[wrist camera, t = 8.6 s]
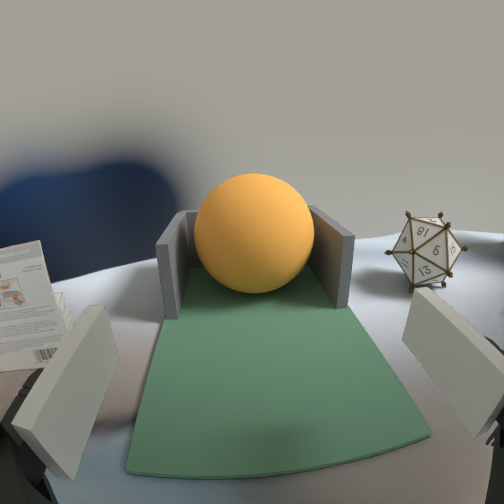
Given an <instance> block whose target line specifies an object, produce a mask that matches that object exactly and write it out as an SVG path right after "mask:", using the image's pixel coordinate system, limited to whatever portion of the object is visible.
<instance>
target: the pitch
mask: <svg viewBox="0 0 504 504" xmlns="http://www.w3.org/2000/svg"><path fill="white" fill-rule="evenodd" d="M308 208H309V211H310V213H311V216H312V220H313V226H314V241H313V247H312V251H311V254H310V256H309V259H308V260H307V262H306V264H305V266H304V267H303V269H302V270H301V271H300V273H299V274H298V275H297V276H296V277H295V278H294V279H292V280H291V281H290V282H289V283H287V284H285V285H284V286H282V287H280V288H278V289H275V290H273V291H269V292H264V293H244V292H239V291H236V290H233V289H230V288H228V287H226V286H224V285H223V284H221V283H219V282H218V281H217V280H216V279H214V278H213V277H212V276H211V275H210V274H209V272H208V271H207V270H206V269H205V267H204V266H203V264H202V262H201V260H200V258H199V256H198V253H197V250H196V246H195V240H194V226H195V220H196V217H197V214H198V211H199V210H188V211H178V212H177V214H176V215H175V217H174V218H173V220H172V221H171V222H170V224H169V225H168V227H167V228H166V230H165V231H164V233H163V234H162V236H161V237H160V239H159V240H158V241H157V243H156V245H155V247H156V254H157V262H158V269H159V276H160V282H161V289H162V295H163V301H164V306H165V312H166V315H165V318H164V321H163V325H162V328H161V331H160V335H159V338H158V341H157V345H156V348H155V352H154V355H153V359H152V362H151V366H150V369H149V373H148V376H147V380H146V384H145V388H144V391H143V395H142V399H141V403H140V407H139V411H138V415H137V419H136V423H135V427H134V431H133V436H132V440H131V444H130V449H129V453H128V458H127V463H126V467H125V471H126V472H127V474H135V475H143V476H153V477H165V478H183V479H233V478H251V477H263V476H273V475H282V474H289V473H296V472H303V471H309V470H315V469H320V468H325V467H330V466H335V465H340V464H344V463H348V462H352V461H356V460H360V459H364V458H368V457H371V456H375V455H378V454H382V453H385V452H388V451H391V450H394V449H397V448H400V447H403V446H406V445H409V444H412V443H415V442H417V441H420V440H423V439H425V438H428V437H430V436H431V434H432V431H431V430H430V428H429V426H428V425H427V423H426V421H425V420H424V418H423V417H422V415H421V413H420V412H419V410H418V409H417V407H416V406H415V404H414V402H413V401H412V399H411V398H410V396H409V395H408V393H407V391H406V390H405V388H404V387H403V385H402V384H401V382H400V381H399V379H398V378H397V376H396V375H395V373H394V372H393V370H392V369H391V367H390V366H389V364H388V363H387V361H386V360H385V358H384V357H383V355H382V354H381V352H380V351H379V349H378V348H377V346H376V345H375V343H374V342H373V341H372V339H371V338H370V336H369V335H368V333H367V332H366V330H365V329H364V328H363V326H362V325H361V323H360V322H359V320H358V319H357V318H356V316H355V315H354V313H353V312H352V310H351V309H350V308H349V306H348V305H347V304H348V296H349V288H350V280H351V271H352V261H353V251H354V240H355V235H353V234H352V233H351V232H349V231H348V230H347V229H345V228H344V227H343V226H341V225H340V224H339V223H337V222H336V221H334V220H333V219H332V218H330V217H329V216H328V215H326V214H325V213H324V212H322V211H321V210H319V209H318V208H317V207H315V206H308Z"/></svg>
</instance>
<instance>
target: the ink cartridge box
mask: <svg viewBox="0 0 504 504" xmlns="http://www.w3.org/2000/svg"><path fill="white" fill-rule="evenodd" d="M72 328H73V324H72V321H71V318H70V315H69V312H68V308H67V305H66V302H65V298H64V294H63V292H59V293H53V291H52V287H51V283H50V279H49V276H48V272H47V267H46V264H45V261H44V256H43V252H42V247H41V243H40V241H39V240H37V241H33V242H29V243H24V244H20V245H15V246H10V247H6V248H2V249H0V372H7V371H18V370H28V369H37V368H45V367H46V365H47V364H48V362H49V361H50V359H51V358H52V356H53V355H54V353H55V352H56V350H57V349H58V347H59V346H60V345H61V343H62V342H63V340H64V339H65V337H66V336H67V335H68V333H69V332H70V330H71V329H72Z"/></svg>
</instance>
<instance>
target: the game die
mask: <svg viewBox="0 0 504 504" xmlns="http://www.w3.org/2000/svg"><path fill="white" fill-rule="evenodd" d="M406 216H407V217H408V218H409V219H408V221H407V223H406V226H405V227H404V230H403V231H402V233H401V235H400V237H399V239H398V241H397V243H396V244H395V246H394V248H393V250H392V251H390V250H389V251H388V250H387V251H386V252H385V254H387V255H390V254H392V255H393V256H394V258H395V259H396V261H397V262H398V264H399V265H400V267H401V268H402V270H403V271H404V273H405V275H406V276H407V278H408V279H409V281H410V282H411V284H412V285H411V286H410V288H409V293H410V292H412V291H414V290H413V289H414V286H417V285H425V284H432V283H440V282H441V285H442V287H445V288H446V283H445V282H444V280H445V278H446V277H447V275H448V276H449V278H450V277H453V273H451V272H450V270H451V268H452V267H453V265H454V263H455V262H456V260H457V258H458V256H459V255H460V253H461V251H462V250H463V251H467V250H468V249H469V248H468V247H466V246H465V247H461V245H460V244H459V243H458V241H457V240H456V238H455V237H454V236H453V234H452V233H451V231H450V230H449V229H448V228H449V227H450V222H447V223H446V225H445V223H444V222H443V221H442V219H441V218H442V216H443V214H442V212H441V213H439V215H438V218H434V217H432V218H431V217H411V214H410V212H407V211H406Z"/></svg>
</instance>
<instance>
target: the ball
mask: <svg viewBox="0 0 504 504" xmlns="http://www.w3.org/2000/svg"><path fill="white" fill-rule="evenodd" d="M194 240H195V246H196V250H197V253H198V256H199V258H200V260H201V262H202V264H203V266H204V267H205V269H206V270H207V271H208V272H209V274H210V275H211V276H212V277H213V278H214V279H216V280H217V281H218V282H219V283H221V284H223V285H224V286H226V287H228V288H230V289H233V290H236V291H239V292H244V293H264V292H269V291H273V290H275V289H278V288H280V287H282V286H284V285H285V284H287V283H289V282H290V281H291V280H292V279H294V278H295V277H296V276H297V275H298V274H299V273H300V271H301V270H302V269H303V267H304V266H305V264H306V262H307V260H308V259H309V256H310V254H311V251H312V247H313V241H314V226H313V220H312V216H311V213H310V211H309V208H308V206H307V205H306V203H305V201H304V200H303V198H302V197H301V196H300V195H299V194H298V192H297V191H296V190H295V189H294V188H292V187H291V186H290V185H288V184H287V183H285V182H284V181H282V180H280V179H278V178H275V177H272V176H269V175H264V174H244V175H239V176H236V177H233V178H231V179H228V180H226V181H224V182H223V183H221V184H220V185H218V186H217V187H216V188H214V189H213V190H212V191H211V192H210V193H209V195H208V196H207V197H206V198H205V200H204V201H203V203H202V205H201V207H200V209H199V211H198V214H197V217H196V220H195V226H194Z"/></svg>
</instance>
